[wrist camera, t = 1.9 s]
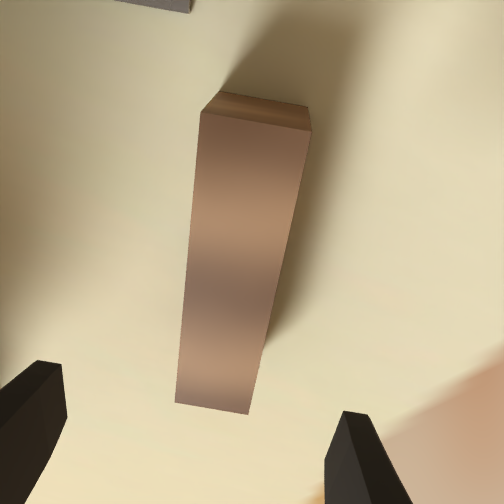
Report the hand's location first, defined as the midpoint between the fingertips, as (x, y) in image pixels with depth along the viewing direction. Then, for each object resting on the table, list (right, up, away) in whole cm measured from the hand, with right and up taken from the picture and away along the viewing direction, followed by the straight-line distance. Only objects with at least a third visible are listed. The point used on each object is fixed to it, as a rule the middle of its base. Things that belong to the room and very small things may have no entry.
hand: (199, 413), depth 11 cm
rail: (+1, +5, +9) cm, 10 cm away
